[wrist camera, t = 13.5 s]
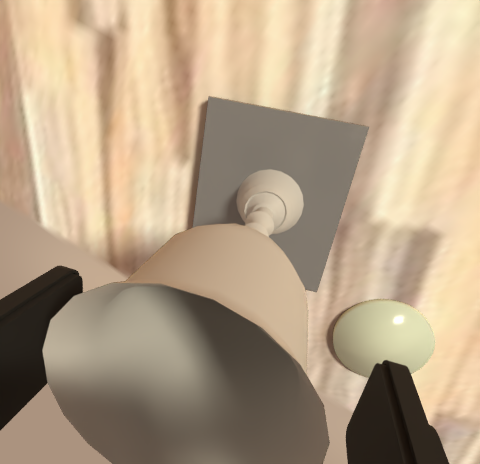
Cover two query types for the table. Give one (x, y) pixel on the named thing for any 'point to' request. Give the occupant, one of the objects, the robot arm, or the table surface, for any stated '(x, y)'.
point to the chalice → (197, 348)
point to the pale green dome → (382, 336)
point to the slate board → (287, 161)
